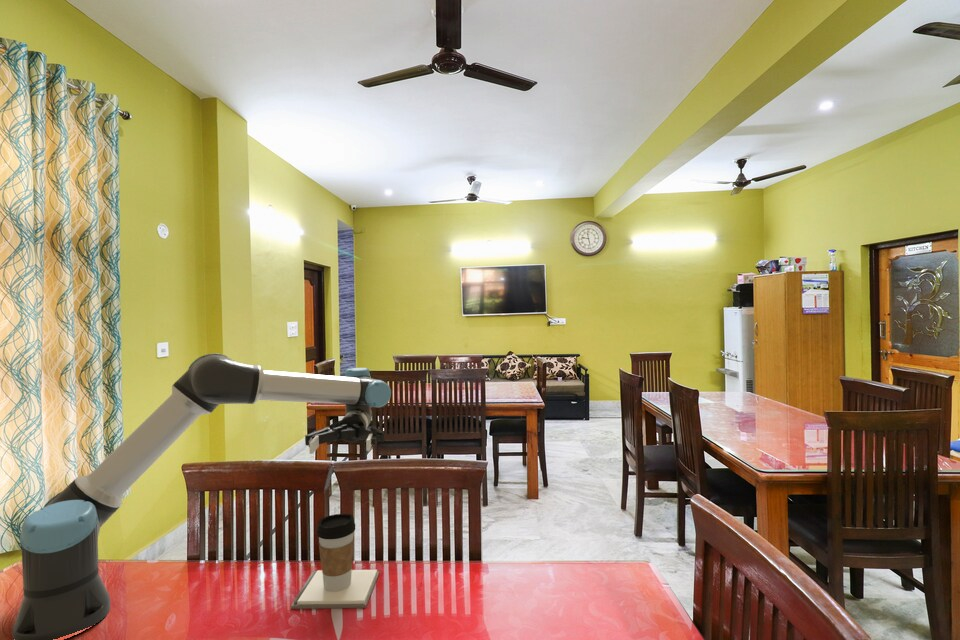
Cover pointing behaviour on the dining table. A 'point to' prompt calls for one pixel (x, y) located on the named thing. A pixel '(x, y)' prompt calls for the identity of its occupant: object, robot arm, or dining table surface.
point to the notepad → (347, 598)
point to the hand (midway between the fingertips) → (339, 447)
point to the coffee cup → (336, 550)
